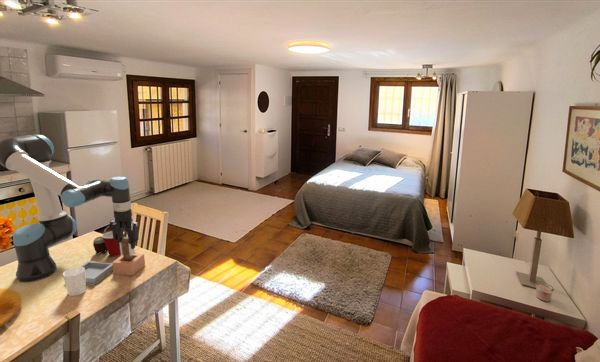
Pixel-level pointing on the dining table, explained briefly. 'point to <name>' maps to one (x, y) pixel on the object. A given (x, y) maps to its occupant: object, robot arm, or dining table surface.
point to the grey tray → (96, 271)
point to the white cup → (75, 280)
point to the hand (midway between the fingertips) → (127, 253)
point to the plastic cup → (111, 244)
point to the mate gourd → (99, 244)
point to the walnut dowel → (126, 249)
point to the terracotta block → (128, 264)
